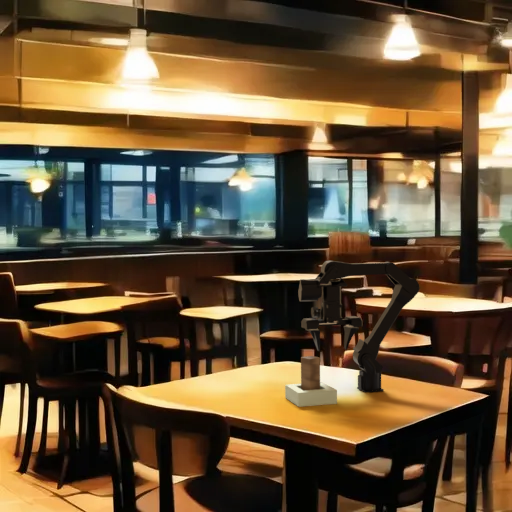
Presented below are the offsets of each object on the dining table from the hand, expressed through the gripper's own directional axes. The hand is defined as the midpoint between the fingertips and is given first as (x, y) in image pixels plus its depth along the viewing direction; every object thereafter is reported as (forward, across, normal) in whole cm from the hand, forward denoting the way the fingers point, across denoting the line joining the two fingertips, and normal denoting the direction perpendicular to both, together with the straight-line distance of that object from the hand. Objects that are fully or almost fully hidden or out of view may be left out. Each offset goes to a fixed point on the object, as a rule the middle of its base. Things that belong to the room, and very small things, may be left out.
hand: (332, 349), depth 233 cm
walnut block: (+12, +11, +10) cm, 19 cm away
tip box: (+13, +11, +10) cm, 20 cm away
